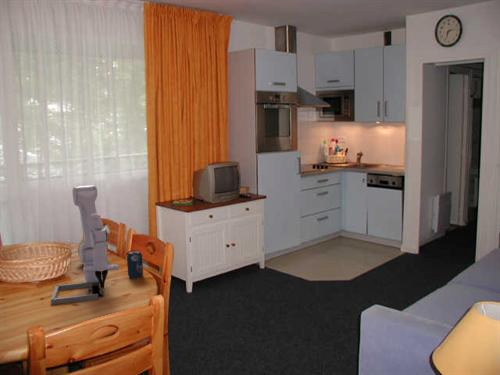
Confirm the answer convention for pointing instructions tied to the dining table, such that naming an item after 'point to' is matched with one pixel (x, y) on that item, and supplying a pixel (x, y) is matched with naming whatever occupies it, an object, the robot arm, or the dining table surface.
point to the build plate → (96, 290)
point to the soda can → (135, 264)
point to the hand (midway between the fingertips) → (102, 287)
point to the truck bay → (74, 298)
